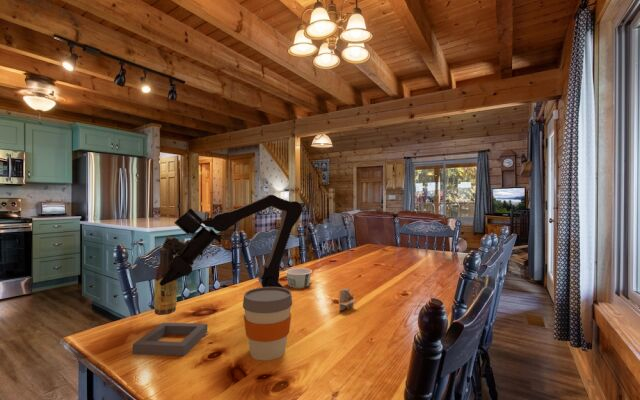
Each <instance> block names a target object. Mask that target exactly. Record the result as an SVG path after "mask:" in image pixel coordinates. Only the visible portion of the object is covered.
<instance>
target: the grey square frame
mask: <svg viewBox="0 0 640 400" xmlns="http://www.w3.org/2000/svg"><path fill="white" fill-rule="evenodd" d="M206 334H208V323H189V322H187V323H186V322H162V323H160V324H159V325H157V326H156V327H155V328H153V329H151V331H149V332H148V333H146V334H144V336H142V337H141V338H139V339H138V340H136V341H135V342H133V343H132V355H148V356H149V355H150V356H152V355H153V356H179V357H186V355H187V354H188V353H189V352H190V351H191V350H192V349H193V348H194V346H195V345H197V344H198V343H199V341H201V340H202V339H203V338H204V337H205V336H206ZM165 335H176V336H177V335H180V336H181V335H182V336H185V335H186V336H185V337H184V339H182V340H181V341H161V340H160V339H162V337H164V336H165Z"/></svg>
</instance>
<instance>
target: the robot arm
mask: <svg viewBox="0 0 640 400" xmlns="http://www.w3.org/2000/svg"><path fill="white" fill-rule="evenodd" d="M271 207H272V208H274V209H276V210H279V211H281V215H280V216H281V217H280V225H279V228H278V231H277V234H276V236H275V240H274V242H273V245H272V248H271V252H270V254H269V257H268V260H267V261H266V263H265V264H262V263H261V264H260V267H259V270H258V273H257V276H258V277H257V278H258V279H257V280H258V282H259V284H260V286H261V287H281V288H285V287H284V286H283V285H282V284H281V283H280V282H279V278H280V268H281V267H280V265H281V262H282V259H283V256H284V253H285V250H286V248H287V244H288V242H289V239H290V236H291V233H292V229H293V227H294V226H295V225H296V223H297V222H298V221H299V219H300V217H301V215H302V213H303V209H304V208H303V206H302V204H301V203H300V202H299V201H296V200H295V201H294V200H293V201H291V200H287V199H284V198H280V197H278V196H276V195H275V194H268V195H265V196H264V197H262V198H259V199H257V200H255V201H252V202H251V203H250V202H249V203H247V204H246V205H244V206H240V207H237V209H231V210H227V211H222V212H218V213H215V214H214V215H213V216H212V217H208V218H207V217H204V218H202V217H201V216H200V215H199V214H197V212H196V211H194V210H193V208H192V207H190V208H189V209H187V211H185V212H184V214H182V215H180V216H179V217H178V218H177V219H176V220H175V221H174V222H173V223H174V224H175V225H176V226H177V227H178V228H179V229H181V230H182V231H183V232H184V233H185V234H187V235H189V234H190V235H194V236H192V237H191V239H187V240H186V241H185V242H184V241H181V240H180V239H179V238H175V236H174V237H172V236H169V235H168V236H166V237H165V240H164V242H163V244H162V246H161V247H162V249H163V248H165V249H170V250H173V251H174V254H173V260H172V261H170V269H169V270H168V272H167V273H166V275H165V276H164V277H163V279H162V280H161V282H160V283H159V284H160V285H161V286H163V285H165V284H167V283H169V282H171V281H174V280H176V279H177V280H179V279H180V278H183V277H185V276H187V277H189V275H191V273H192V272H193V265H194V263H195V261H196V260H197V259H198V258H199V257H200V256H203V254H204V251H206V250H207V248H209V246H211V245H212V244H213V243H214V242H215V241H217V242H218V243H219V244H221V243H222V234H221V233H222V232H225V231H227V230H229V229H230V228H231V227H234V225H236V224H237V223H238V222H240V221H242V220H244V219H245V218H247V217H250V216H252V215H255V214H257V213H259V212H262V211H263V210H266V209H268V208H271ZM206 227H208V228H210V229H209V230H208V229H207V228H206ZM213 229H214V230H213ZM215 231H216V232H215ZM217 232H220V233H217ZM195 233H196V234H195Z"/></svg>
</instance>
